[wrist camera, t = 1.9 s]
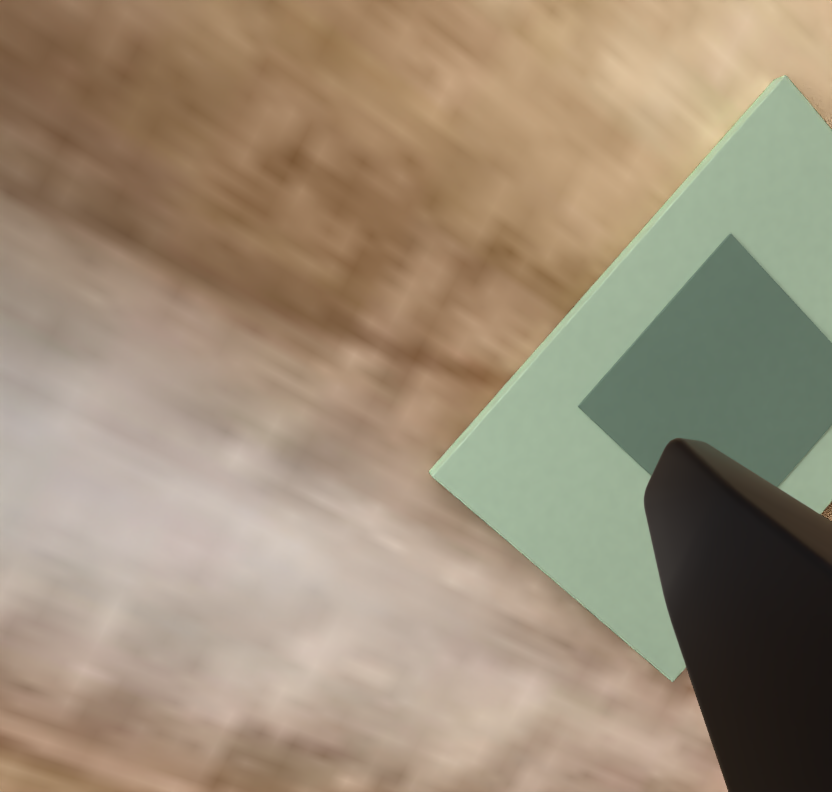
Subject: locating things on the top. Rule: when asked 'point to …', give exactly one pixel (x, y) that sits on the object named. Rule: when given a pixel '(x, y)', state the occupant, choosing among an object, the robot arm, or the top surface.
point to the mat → (672, 372)
